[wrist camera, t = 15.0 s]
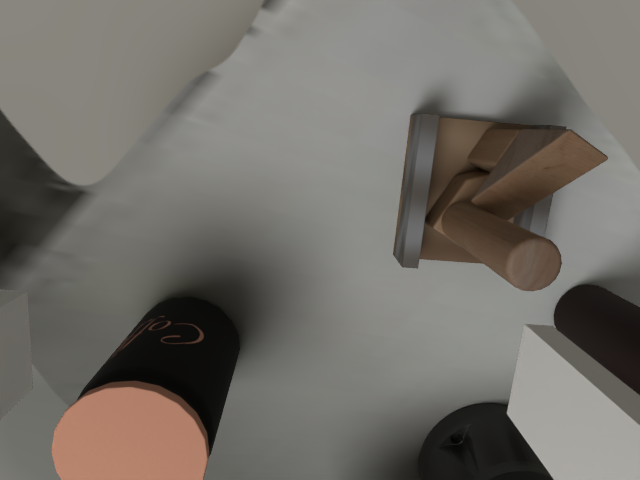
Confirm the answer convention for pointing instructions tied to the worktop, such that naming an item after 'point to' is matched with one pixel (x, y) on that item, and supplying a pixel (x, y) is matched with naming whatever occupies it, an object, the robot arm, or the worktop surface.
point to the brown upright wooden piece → (512, 200)
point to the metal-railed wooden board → (445, 185)
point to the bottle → (603, 330)
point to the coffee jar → (153, 399)
